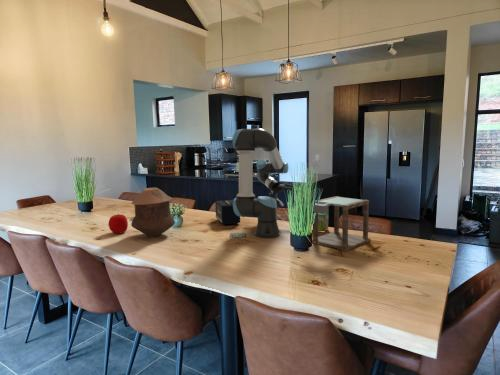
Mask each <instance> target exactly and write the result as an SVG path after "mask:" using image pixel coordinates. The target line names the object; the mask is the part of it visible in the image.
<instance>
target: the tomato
mask: <svg viewBox="0 0 500 375" xmlns="http://www.w3.org/2000/svg"><path fill="white" fill-rule="evenodd" d="M128 222H129V221H128V218H127V216H125V215H124V214H119V213H117V214H114V215H112V216H110V217H109V219H108V228H109V230H110V232H112V233H113V234H116V235H117V234H123V233H125V232H126V231H127V230H128V226H129V224H128Z"/></svg>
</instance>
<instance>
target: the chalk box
mask: <svg viewBox="0 0 500 375" xmlns="http://www.w3.org/2000/svg"><path fill="white" fill-rule="evenodd" d="M327 229H328V230H329V212H328V213H326V214H320V213H318V231H326V230H327ZM328 230H327V231H328ZM327 231H326V232H327Z"/></svg>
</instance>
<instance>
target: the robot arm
mask: <svg viewBox="0 0 500 375" xmlns="http://www.w3.org/2000/svg"><path fill="white" fill-rule="evenodd" d="M277 146H278V143H277V140H276V138H275V137H274V135H273V134H272V133H271V132H269V131H268V130H266V129H264V128H241V129H236V130H235V132H234V134H233V136H232V147H233V148H234V149H235V152H236V153H237V154H238V193H237V194H236V197H235V198H234V199H233V209H234V212H235V214H236V215H237V216H240V218H241V217H242V218H256V219H257V224H256V228H255V230H254V234H255V237H258V238H264V239H265V238H267V239H269V238H271V239H272V238H277V237H280V232H281V230H280V229H279V225H278V221H277V220H278V218H277V217H278V214H277V213H278V211H277V210H278V205H280V206H281V207H284V203H283V201H281V200H280V199H279V198H278V194H280V193H281V192H284V191H292V192H293V185H294V184H292V183H286V182H285V181H283V182H282V183H279V182H278V180H276V179H275V178H273V177H272V176H271V175H270V174H288V172H289V163H288V162H286V161H285V162H284V161H283V159H282V156H281V153H280V152H279V149H278V147H277ZM256 149H262V150H263V151H265V153H266V155H267V158H268V159H269V161H270V162H267V160H266V159H264V158H263V159H262V158H261V159H259V160H257V161H256V169H257V175H256V178H257V180H259V182H260V183H261V184H263V185H265V186H266V187H267V188H268V189H269V191H268V194H269V195H270V196H267V195H264V196H262V195H261V196H258V197H257V198H256V195H255V194H254V193H253V192H254V191H253V190H254V189H253V187H254V186H253V185H254V184H253V183H254V182H253V180H254V179H253V178H254V176H253V174H254V173H253V166H254V165H253V164H254V163H253V161H254V160H253V158H254V156H253V155H254V153H255V152H256ZM288 189H290V190H288ZM273 194H274V197H273Z"/></svg>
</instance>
